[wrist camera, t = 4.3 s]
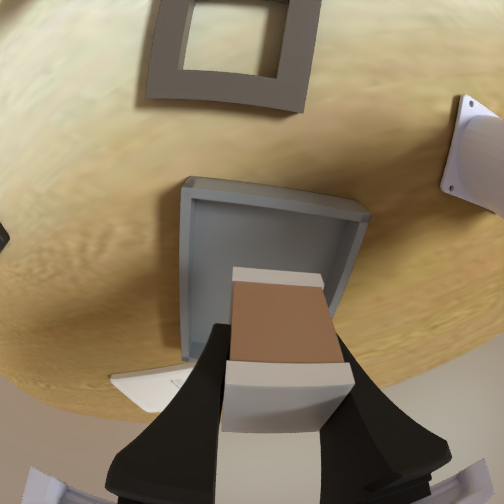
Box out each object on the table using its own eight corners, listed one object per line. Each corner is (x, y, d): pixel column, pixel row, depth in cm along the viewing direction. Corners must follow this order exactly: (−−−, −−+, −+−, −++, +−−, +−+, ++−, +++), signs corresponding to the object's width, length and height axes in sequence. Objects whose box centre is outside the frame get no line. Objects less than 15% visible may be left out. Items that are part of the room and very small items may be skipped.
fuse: (320, 273, 12) (355, 383, 7) (301, 332, 14) (318, 431, 9) (233, 266, 11) (225, 383, 7) (227, 328, 13) (221, 431, 9)
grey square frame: (319, -11, 10) (323, -18, 9) (299, 112, 15) (303, 113, 14) (174, -24, 10) (169, -31, 9) (152, 98, 14) (145, 98, 13)
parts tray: (357, 201, 18) (371, 214, 16) (304, 351, 25) (307, 371, 23) (189, 175, 17) (181, 186, 15) (186, 340, 24) (182, 360, 22)
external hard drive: (112, 370, 29) (197, 356, 27) (150, 404, 33) (231, 395, 30) (108, 381, 27) (195, 369, 25) (148, 413, 31) (230, 406, 29)
